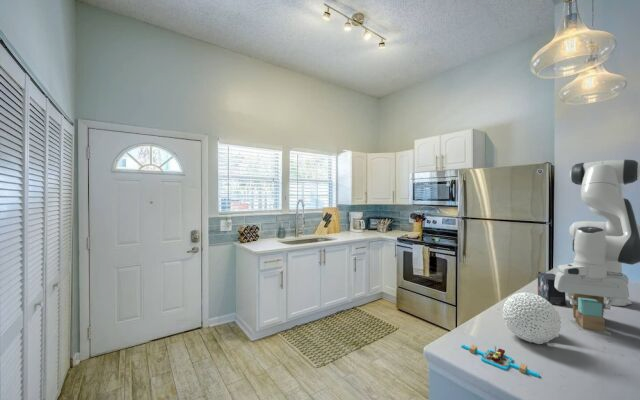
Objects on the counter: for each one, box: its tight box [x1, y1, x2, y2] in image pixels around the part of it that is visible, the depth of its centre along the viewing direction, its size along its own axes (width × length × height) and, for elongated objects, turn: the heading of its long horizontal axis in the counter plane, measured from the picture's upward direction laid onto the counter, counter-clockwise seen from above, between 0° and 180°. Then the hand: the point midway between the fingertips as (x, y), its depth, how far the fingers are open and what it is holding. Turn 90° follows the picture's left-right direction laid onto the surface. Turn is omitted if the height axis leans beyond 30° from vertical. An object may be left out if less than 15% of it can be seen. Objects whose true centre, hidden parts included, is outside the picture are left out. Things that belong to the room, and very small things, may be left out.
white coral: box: [502, 291, 562, 345], centre depth 96 cm, size 20×18×16 cm
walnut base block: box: [575, 310, 606, 332], centre depth 101 cm, size 6×6×5 cm
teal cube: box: [578, 297, 602, 318], centre depth 101 cm, size 5×5×5 cm
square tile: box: [569, 319, 613, 336], centre depth 101 cm, size 9×9×1 cm
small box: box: [537, 272, 567, 307], centre depth 132 cm, size 13×7×12 cm, turn 159°
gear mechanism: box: [461, 344, 540, 379], centre depth 82 cm, size 20×5×9 cm
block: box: [572, 293, 605, 319], centre depth 109 cm, size 11×8×20 cm
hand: (589, 306), depth 101 cm, fingers open, 8 cm apart
